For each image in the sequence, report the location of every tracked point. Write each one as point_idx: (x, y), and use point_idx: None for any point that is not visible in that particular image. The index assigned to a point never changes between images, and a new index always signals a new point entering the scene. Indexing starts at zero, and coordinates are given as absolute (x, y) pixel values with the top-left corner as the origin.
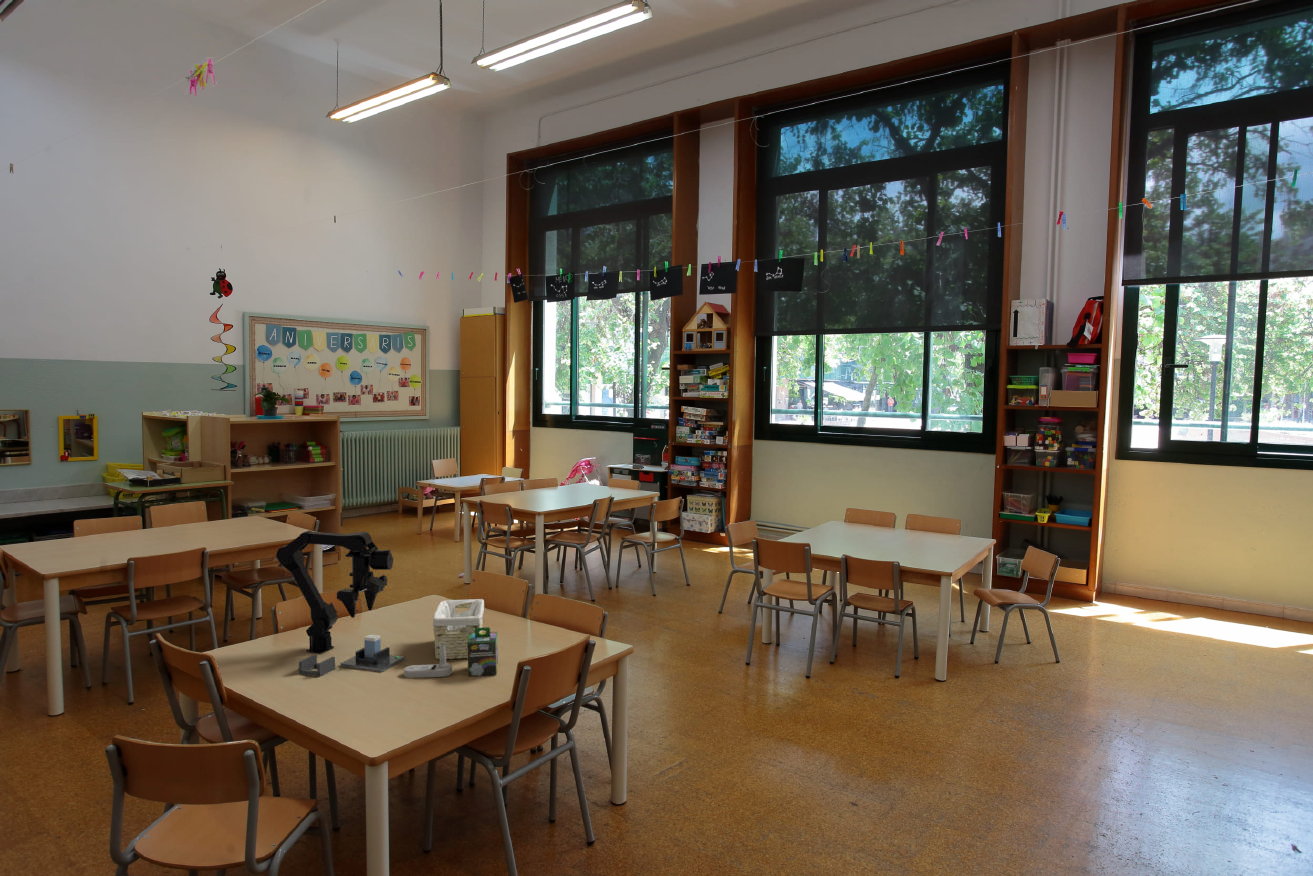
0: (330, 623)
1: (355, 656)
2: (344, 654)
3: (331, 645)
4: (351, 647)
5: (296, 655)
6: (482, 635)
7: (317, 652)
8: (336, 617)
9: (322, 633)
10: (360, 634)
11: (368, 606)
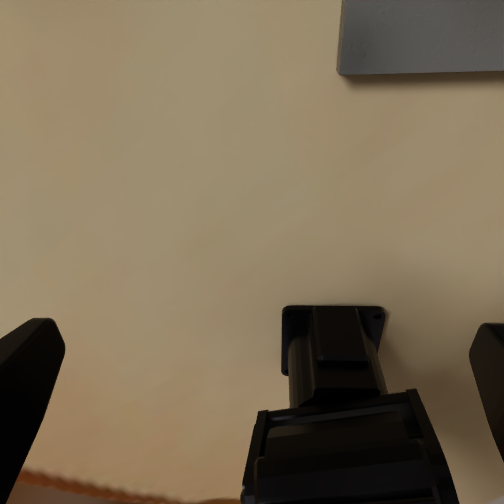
0: (398, 440)
1: (464, 59)
2: (364, 197)
3: (317, 315)
4: (241, 235)
5: (420, 376)
6: None
7: (381, 327)
8: (276, 469)
9: (414, 399)
10: (57, 311)
11: (37, 398)
